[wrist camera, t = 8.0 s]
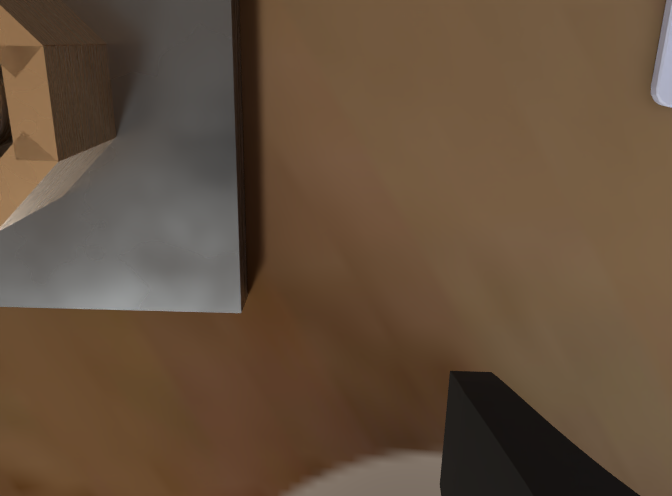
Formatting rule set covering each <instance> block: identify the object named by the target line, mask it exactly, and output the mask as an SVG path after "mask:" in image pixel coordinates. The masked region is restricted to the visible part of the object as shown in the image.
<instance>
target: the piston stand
mask: <svg viewBox="0 0 672 496" xmlns="http://www.w3.org/2000/svg"><path fill="white" fill-rule="evenodd" d="M62 1H63V2H64V3H65V4H66V5H67V6H68V7H69V8H70V9H71V10H72V11H73V12H74V13H75V14H76V15H77V16H78V17H79V18H80V19H81V20H82V21H83V22H85V23H86V24H87V25H88V26H89V27H90V28H91V29H92V30H93V31H94V32H95V33H96V34H97V35H98V36H99V37H100V38H101V39H102V40H103V41H104V42H105V43H106V45H107V49H108V59H109V69H110V79H111V89H112V99H113V109H114V119H115V129H116V138H115V139H114V140H113V142H112V143H111V144H110V145H109V146H108V147H107V148H106V149H105V150H104V151H103V153H102V154H101V155H100V156H99V157H98V158H97V159H96V160H95V161H94V162H93V164H92V165H91V166H90V167H89V168H88V169H87V170H86V171H85V172H84V174H83V175H82V176H81V177H80V178H79V179H78V180H77V181H76V182H75V183H74V185H73V186H72V187H71V188H70V189H69V190H68V191H67V192H66V193H65V194H64V196H63V197H61V198H59V199H57V200H55V201H54V202H52V203H50V204H48V205H46V206H44V207H43V208H41V209H39V210H37V211H35V212H33V213H32V214H30V215H28V216H26V217H24V218H23V219H21V220H19V221H17V222H15V223H13V224H12V225H10V226H8V227H6V228H4V229H2V230H1V231H0V307H34V308H71V309H109V310H146V311H184V312H221V313H241V312H242V310H243V307H244V305H245V302H246V299H247V297H248V291H247V256H246V221H245V186H244V151H243V116H242V81H241V46H240V11H239V0H62ZM12 144H13V139H12V132H11V126H10V119H9V113H8V106H7V100H6V93H5V87H4V80H3V74H2V67H1V64H0V158H1V157H2V156H3V154H4V153H5V152H6V151H7V150H8V149H9V147H10V146H11V145H12Z"/></svg>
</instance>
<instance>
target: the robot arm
mask: <svg viewBox="0 0 672 496" xmlns="http://www.w3.org/2000/svg"><path fill="white" fill-rule="evenodd" d="M651 95H652V97H653V99H654V101H655V102H657V103H658V104H659V105H663V106H667V107H672V0H666V6H665V11H664V17H663V23H662V28H661V34H660V39H659V45H658V50H657V56H656V62H655V67H654V73H653V78H652V84H651ZM440 488H441V496H640V495H638V494H637V493H636V492H634V491H633V490H632V489H630V488H629V487H628V486H626V485H625V484H624V483H622V482H621V481H620V480H618V479H617V478H616V477H614V476H613V475H612V474H611V473H609V472H608V471H607V470H605V469H604V468H603V467H602V466H600V465H599V464H598V463H597V462H595V461H594V460H593V459H592V458H590V457H589V456H588V455H587V454H585V453H584V452H583V451H582V450H581V449H579V448H578V447H577V446H576V445H575V444H573V443H572V442H571V441H570V440H569V439H567V438H566V437H565V436H564V435H563V434H562V433H560V432H559V431H558V430H557V429H556V428H555V427H553V426H552V425H551V424H550V423H549V422H548V421H547V420H545V419H544V418H543V417H542V416H541V415H540V414H539V413H538V412H536V411H535V410H534V409H533V408H532V407H531V406H530V405H529V404H527V403H526V402H525V401H524V400H523V399H522V398H521V397H520V396H518V395H517V394H516V393H515V392H514V391H513V390H512V389H511V388H510V387H508V386H507V385H506V384H505V383H504V382H503V381H502V380H500V379H499V378H498V377H497V376H496V375H494V374H493V373H492V372H467V371H450V378H449V390H448V401H447V412H446V423H445V434H444V445H443V456H442V467H441V478H440Z"/></svg>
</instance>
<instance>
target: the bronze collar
mask: <svg viewBox="0 0 672 496" xmlns="http://www.w3.org/2000/svg"><path fill="white" fill-rule="evenodd" d="M0 64H1V67H2V74H3V80H4V87H5V93H6V100H7V106H8V113H9V119H10V126H11V132H12V139H13V144H12V145H11V146H10V147H9V149H8V150H7V151H6V152H5V153H4V154H3V156H2V157H1V158H0V231H1V230H2V229H4V228H6V227H8V226H10V225H12V224H13V223H15V222H17V221H19V220H21V219H23V218H24V217H26V216H28V215H30V214H32V213H33V212H35V211H37V210H39V209H41V208H43V207H44V206H46V205H48V204H50V203H52V202H54V201H55V200H57V199H59V198H61V197H63V196H64V194H65V193H66V192H67V191H68V190H69V189H70V188H71V187H72V186H73V185H74V183H75V182H76V181H77V180H78V179H79V178H80V177H81V176H82V175H83V174H84V172H85V171H86V170H87V169H88V168H89V167H90V166H91V165H92V164H93V162H94V161H95V160H96V159H97V158H98V157H99V156H100V155H101V154H102V153H103V151H104V150H105V149H106V148H107V147H108V146H109V145H110V144H111V143H112V142H113V140H114V139H115V138H116V129H115V119H114V109H113V99H112V89H111V79H110V69H109V59H108V49H107V45H106V43H105V42H104V41H103V40H102V39H101V38H100V37H99V36H98V35H97V34H96V33H95V32H94V31H93V30H92V29H91V28H90V27H89V26H88V25H87V24H86V23H85V22H83V21H82V20H81V19H80V18H79V17H78V16H77V15H76V14H75V13H74V12H73V11H72V10H71V9H70V8H69V7H68V6H67V5H66V4H65V3H64V2H63V1H62V0H0Z"/></svg>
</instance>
